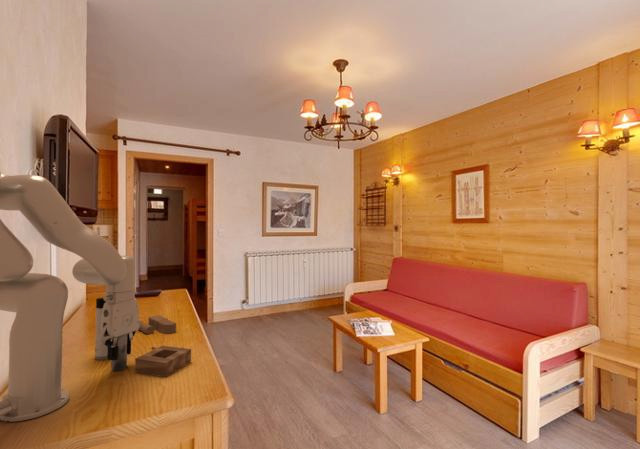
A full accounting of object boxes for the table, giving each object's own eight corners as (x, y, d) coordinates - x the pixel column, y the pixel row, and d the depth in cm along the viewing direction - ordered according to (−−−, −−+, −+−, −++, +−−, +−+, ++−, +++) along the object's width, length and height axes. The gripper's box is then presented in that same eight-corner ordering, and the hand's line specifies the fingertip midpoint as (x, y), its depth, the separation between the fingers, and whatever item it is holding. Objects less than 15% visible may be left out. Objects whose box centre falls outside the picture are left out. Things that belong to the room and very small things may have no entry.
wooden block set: (158, 312, 143) (177, 319, 131) (157, 324, 143) (176, 333, 131) (115, 320, 130) (132, 329, 118) (115, 333, 130) (131, 344, 118)
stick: (171, 353, 109) (171, 351, 109) (169, 354, 108) (169, 352, 108) (153, 348, 114) (153, 346, 114) (151, 348, 113) (151, 346, 113)
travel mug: (91, 361, 102) (92, 298, 102) (99, 353, 108) (100, 294, 108) (113, 359, 103) (114, 298, 104) (120, 351, 110) (121, 293, 110)
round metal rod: (118, 372, 94) (119, 325, 95) (108, 370, 95) (109, 323, 96) (129, 366, 98) (130, 321, 98) (119, 365, 99) (120, 320, 100)
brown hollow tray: (166, 376, 92) (166, 362, 92) (135, 372, 95) (135, 358, 95) (190, 361, 102) (191, 349, 102) (162, 357, 105) (162, 345, 105)
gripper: (105, 303, 88) (103, 369, 88) (151, 292, 104) (150, 348, 104) (84, 301, 90) (83, 366, 90) (133, 290, 106) (132, 345, 106)
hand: (119, 356), depth 97 cm, fingers closed on round metal rod, 4 cm apart
